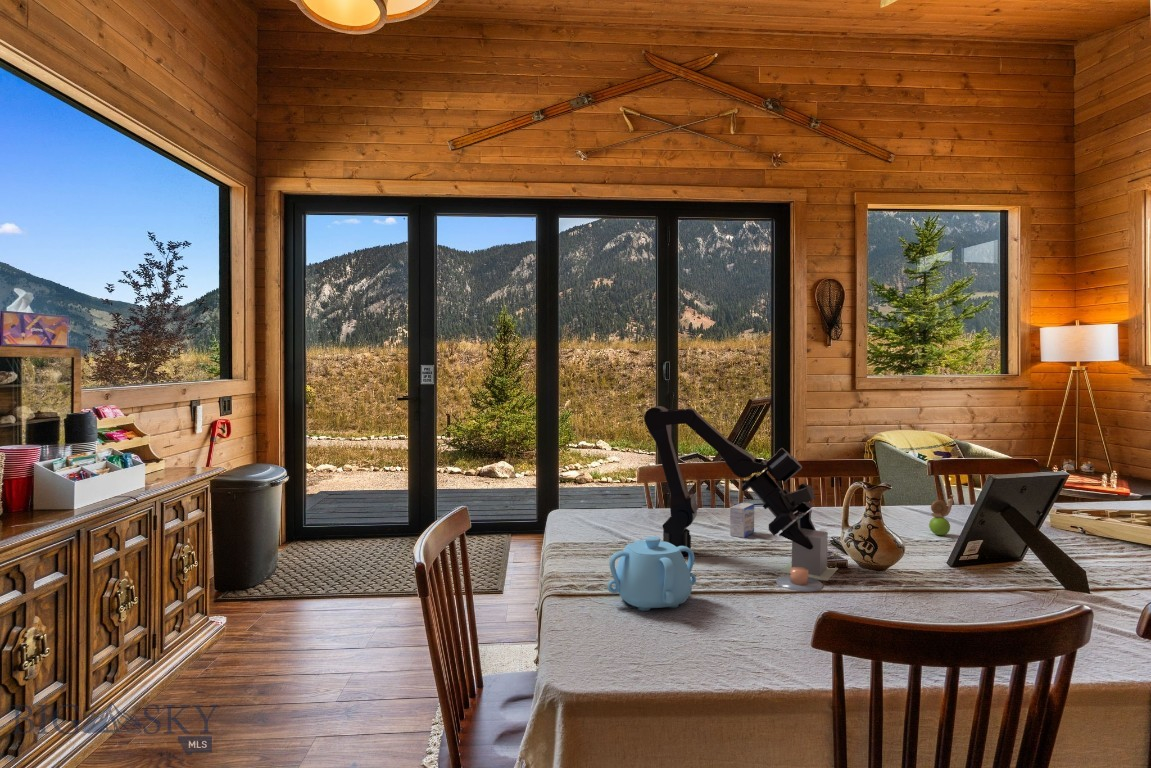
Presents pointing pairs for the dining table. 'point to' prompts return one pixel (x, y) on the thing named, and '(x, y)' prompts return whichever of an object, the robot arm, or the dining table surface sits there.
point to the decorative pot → (652, 574)
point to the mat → (823, 576)
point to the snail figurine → (940, 516)
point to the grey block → (811, 552)
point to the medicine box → (742, 520)
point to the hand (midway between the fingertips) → (815, 545)
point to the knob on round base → (799, 581)
